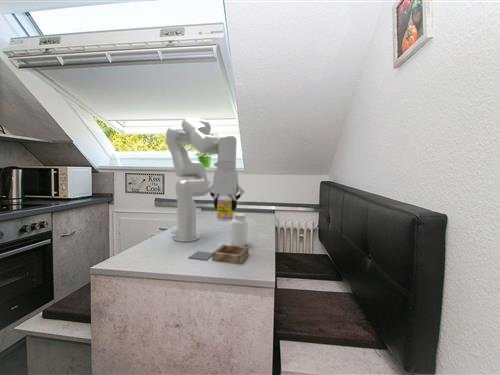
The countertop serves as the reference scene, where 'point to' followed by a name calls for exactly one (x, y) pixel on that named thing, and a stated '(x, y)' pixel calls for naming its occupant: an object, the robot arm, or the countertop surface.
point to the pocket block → (231, 258)
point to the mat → (201, 255)
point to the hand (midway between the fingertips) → (225, 208)
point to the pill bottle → (239, 230)
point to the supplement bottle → (224, 208)
